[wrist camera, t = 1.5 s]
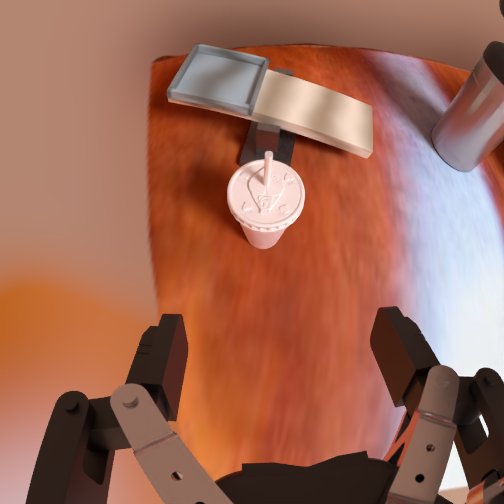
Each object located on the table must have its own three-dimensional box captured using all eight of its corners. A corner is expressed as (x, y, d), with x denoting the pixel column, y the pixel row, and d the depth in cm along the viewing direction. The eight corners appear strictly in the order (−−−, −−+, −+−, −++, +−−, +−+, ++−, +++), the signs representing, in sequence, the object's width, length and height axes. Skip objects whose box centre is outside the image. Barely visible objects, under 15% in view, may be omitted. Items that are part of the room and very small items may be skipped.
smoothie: (292, 208, 34) (313, 129, 21) (291, 262, 32) (317, 206, 19) (235, 204, 34) (226, 124, 21) (231, 259, 32) (216, 200, 19)
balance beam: (366, 109, 35) (375, 97, 33) (366, 163, 33) (377, 152, 30) (193, 58, 33) (194, 43, 30) (165, 106, 30) (164, 90, 28)
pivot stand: (302, 98, 39) (308, 67, 33) (288, 174, 35) (293, 145, 30) (262, 90, 40) (263, 60, 34) (239, 165, 36) (237, 135, 30)
